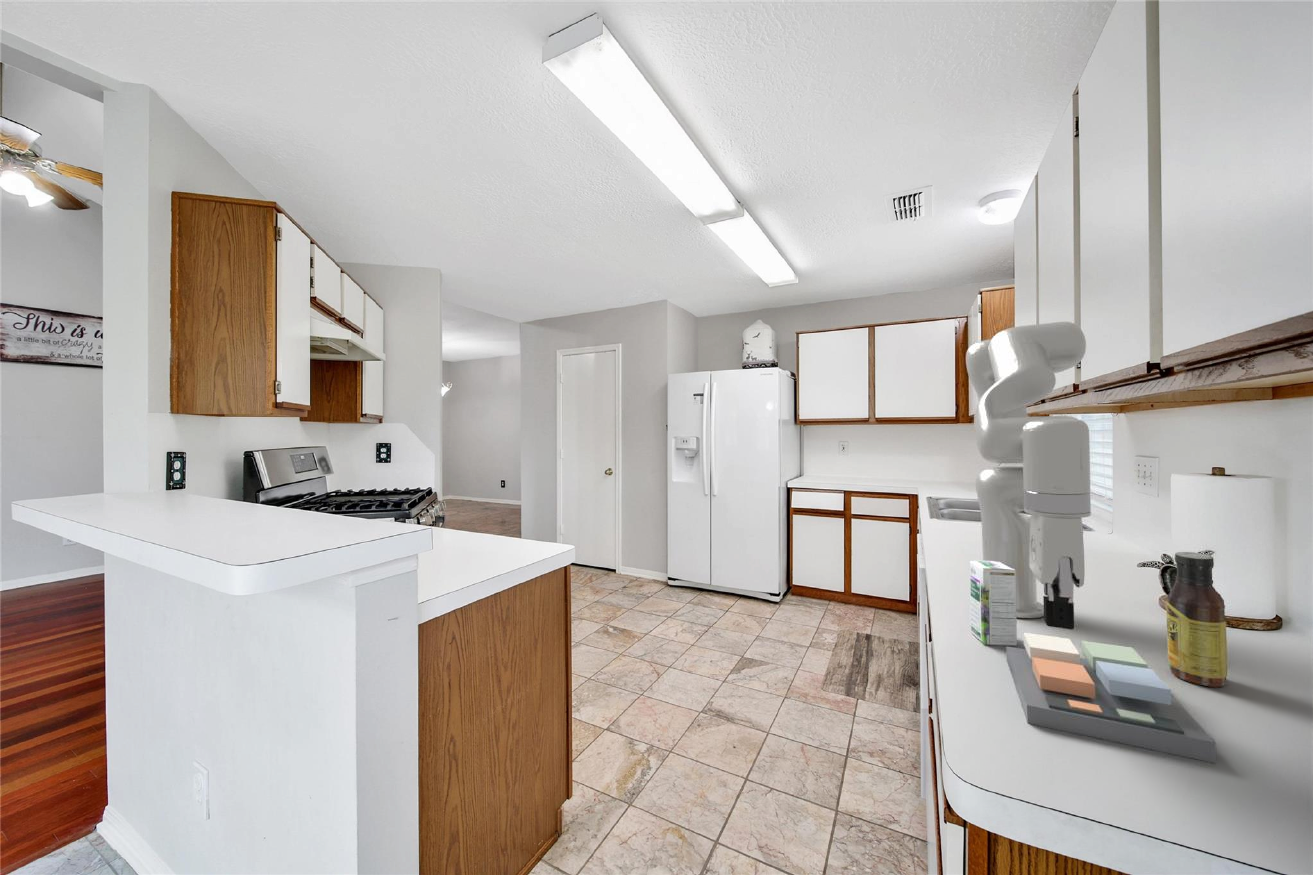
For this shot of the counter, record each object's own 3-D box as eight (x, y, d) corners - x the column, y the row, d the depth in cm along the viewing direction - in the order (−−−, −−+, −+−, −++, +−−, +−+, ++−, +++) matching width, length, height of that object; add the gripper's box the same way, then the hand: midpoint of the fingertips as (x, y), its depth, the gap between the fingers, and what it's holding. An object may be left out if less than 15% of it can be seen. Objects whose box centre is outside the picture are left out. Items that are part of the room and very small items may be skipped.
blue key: (1096, 674, 70) (1095, 660, 70) (1152, 683, 67) (1151, 669, 67) (1109, 694, 65) (1109, 679, 65) (1171, 704, 62) (1170, 689, 62)
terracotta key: (1032, 669, 74) (1032, 657, 74) (1083, 678, 71) (1082, 665, 71) (1040, 688, 69) (1039, 674, 69) (1095, 698, 66) (1094, 684, 66)
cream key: (1023, 644, 81) (1023, 632, 81) (1069, 651, 78) (1069, 638, 78) (1030, 659, 75) (1030, 646, 75) (1080, 667, 72) (1079, 654, 72)
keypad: (1006, 660, 83) (1006, 642, 83) (1148, 683, 74) (1148, 664, 74) (1027, 722, 66) (1026, 700, 66) (1216, 763, 57) (1215, 737, 57)
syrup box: (969, 632, 95) (967, 560, 95) (1002, 633, 94) (1000, 560, 94) (984, 645, 89) (981, 568, 89) (1019, 646, 88) (1016, 568, 88)
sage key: (1081, 652, 77) (1081, 640, 77) (1132, 660, 74) (1132, 647, 74) (1093, 669, 72) (1092, 656, 72) (1148, 678, 69) (1147, 664, 69)
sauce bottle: (1171, 665, 80) (1167, 546, 80) (1229, 679, 75) (1226, 553, 75) (1164, 678, 76) (1161, 554, 76) (1226, 694, 71) (1222, 561, 71)
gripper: (1016, 494, 78) (1018, 603, 79) (1033, 511, 65) (1036, 642, 66) (1075, 495, 75) (1078, 610, 75) (1106, 514, 62) (1109, 653, 62)
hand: (1058, 625), depth 71 cm, fingers closed
